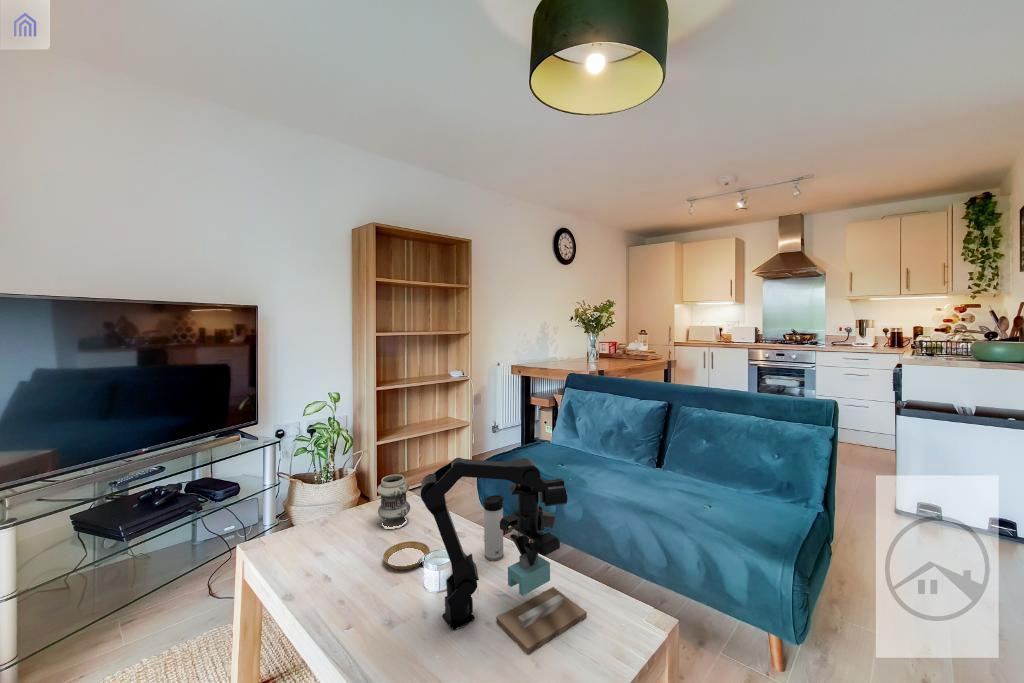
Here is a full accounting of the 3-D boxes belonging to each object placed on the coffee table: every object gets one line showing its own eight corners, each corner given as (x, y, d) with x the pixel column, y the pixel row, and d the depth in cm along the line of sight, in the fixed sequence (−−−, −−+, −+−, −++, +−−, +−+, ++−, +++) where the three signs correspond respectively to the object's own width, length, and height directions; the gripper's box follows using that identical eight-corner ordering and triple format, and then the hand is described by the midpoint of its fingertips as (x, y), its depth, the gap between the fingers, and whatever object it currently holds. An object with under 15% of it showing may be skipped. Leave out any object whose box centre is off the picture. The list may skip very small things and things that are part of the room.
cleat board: (527, 654, 99) (527, 640, 99) (496, 622, 110) (496, 609, 109) (586, 617, 111) (586, 604, 111) (553, 591, 122) (553, 580, 121)
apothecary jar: (385, 515, 169) (384, 471, 168) (414, 516, 168) (413, 472, 167) (372, 530, 157) (371, 483, 156) (404, 532, 156) (402, 484, 155)
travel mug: (502, 562, 136) (501, 502, 135) (482, 560, 138) (481, 500, 136) (506, 551, 142) (505, 494, 141) (487, 549, 144) (486, 492, 143)
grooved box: (522, 596, 109) (521, 566, 109) (508, 584, 114) (507, 556, 113) (550, 580, 115) (549, 552, 115) (535, 570, 120) (535, 543, 120)
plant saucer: (405, 544, 148) (405, 537, 148) (438, 554, 142) (438, 547, 141) (373, 566, 135) (373, 558, 135) (408, 579, 128) (408, 571, 128)
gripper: (574, 510, 111) (574, 567, 112) (527, 488, 125) (528, 539, 126) (543, 524, 104) (544, 584, 105) (497, 499, 118) (499, 552, 119)
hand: (528, 563), depth 114 cm, fingers closed on grooved box
